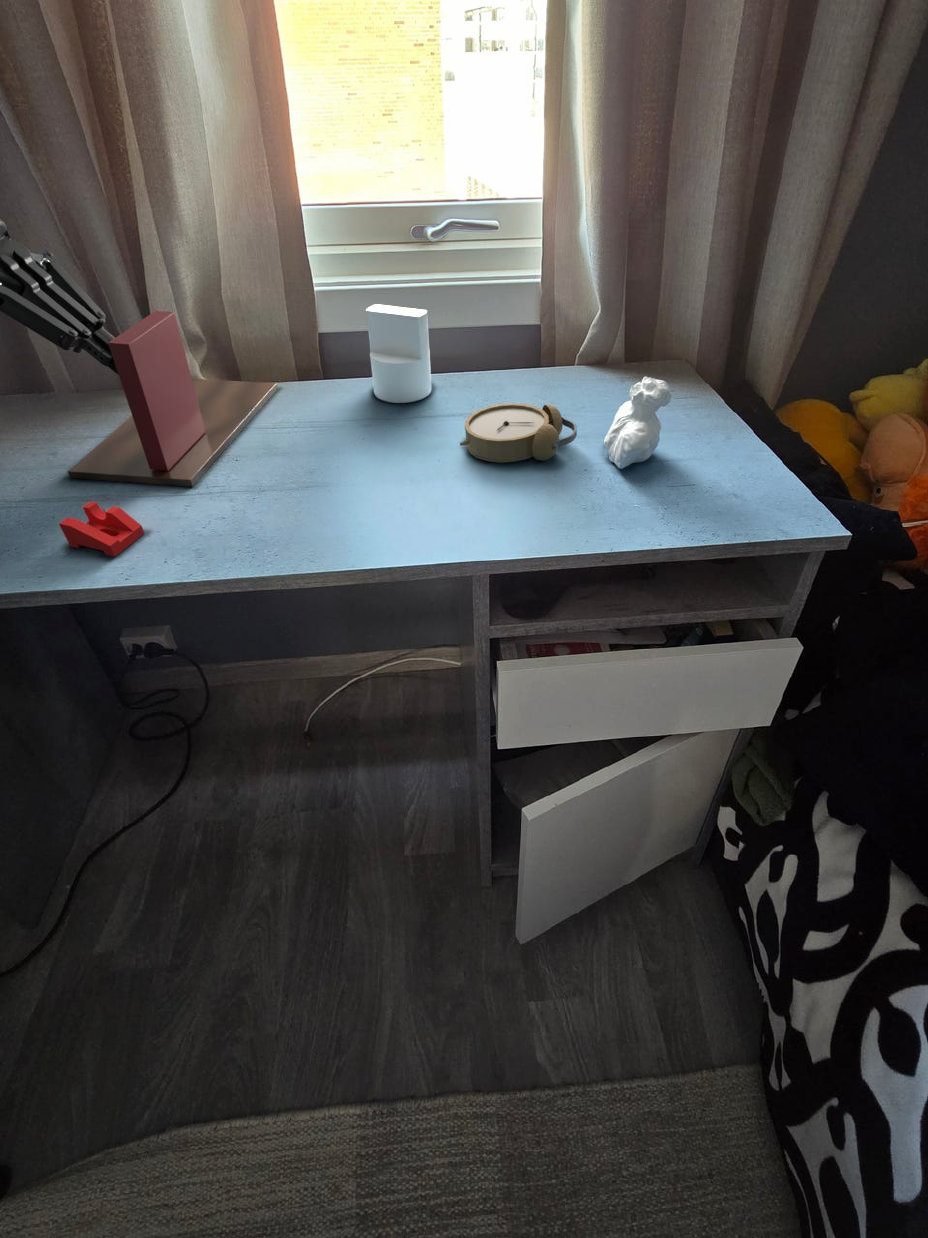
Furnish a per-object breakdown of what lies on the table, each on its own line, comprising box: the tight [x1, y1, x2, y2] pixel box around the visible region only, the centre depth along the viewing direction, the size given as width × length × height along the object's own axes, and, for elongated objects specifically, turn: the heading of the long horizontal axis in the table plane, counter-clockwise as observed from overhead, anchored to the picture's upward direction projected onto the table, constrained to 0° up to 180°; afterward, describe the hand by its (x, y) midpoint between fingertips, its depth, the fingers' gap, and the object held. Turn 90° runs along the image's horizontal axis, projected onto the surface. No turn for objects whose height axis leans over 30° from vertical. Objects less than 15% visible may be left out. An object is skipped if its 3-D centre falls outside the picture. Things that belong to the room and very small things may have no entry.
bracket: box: [58, 500, 145, 558], centre depth 77 cm, size 6×5×3 cm
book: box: [108, 310, 205, 471], centre depth 86 cm, size 2×11×16 cm, turn 171°
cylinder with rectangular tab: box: [365, 303, 432, 404], centre depth 104 cm, size 9×9×12 cm
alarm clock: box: [459, 402, 578, 463], centre depth 92 cm, size 11×5×15 cm
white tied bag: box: [603, 376, 672, 470], centre depth 88 cm, size 12×8×11 cm
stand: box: [67, 378, 278, 488], centre depth 99 cm, size 17×30×1 cm, turn 171°
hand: (140, 376), depth 86 cm, fingers closed
